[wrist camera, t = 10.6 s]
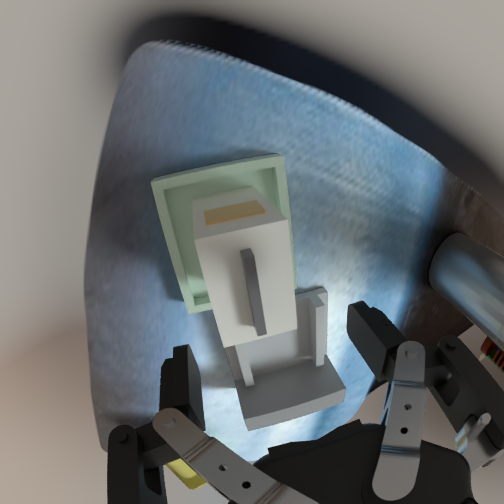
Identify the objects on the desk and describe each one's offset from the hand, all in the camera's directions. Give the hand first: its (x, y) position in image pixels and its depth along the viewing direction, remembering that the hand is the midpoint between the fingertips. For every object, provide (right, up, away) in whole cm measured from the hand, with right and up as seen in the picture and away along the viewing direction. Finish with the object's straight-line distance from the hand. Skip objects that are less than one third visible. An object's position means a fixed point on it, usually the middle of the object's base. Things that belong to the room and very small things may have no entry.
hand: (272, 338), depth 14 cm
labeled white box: (-3, +6, +12) cm, 13 cm away
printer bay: (+2, -7, +19) cm, 21 cm away
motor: (+61, -18, +39) cm, 74 cm away
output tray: (-3, +6, +12) cm, 14 cm away
